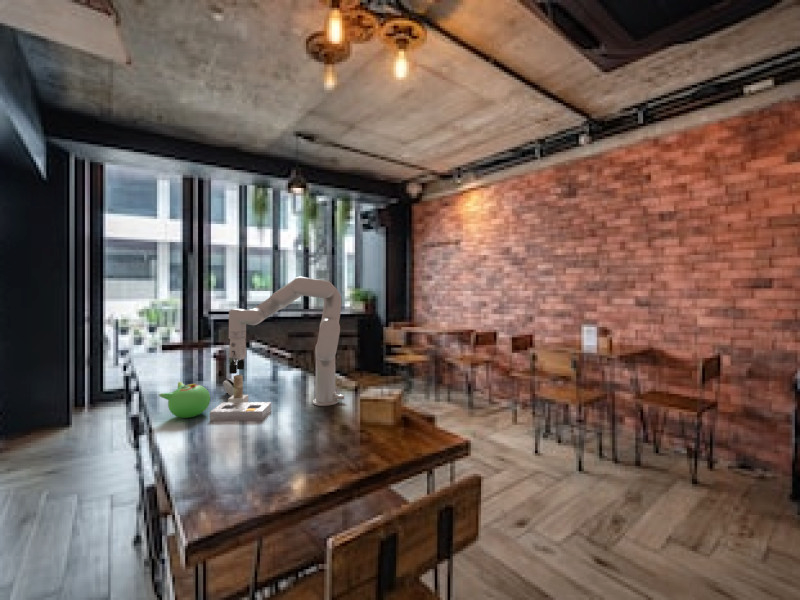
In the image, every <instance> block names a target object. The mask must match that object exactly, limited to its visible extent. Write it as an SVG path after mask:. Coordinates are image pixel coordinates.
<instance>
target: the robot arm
mask: <svg viewBox="0 0 800 600" xmlns="http://www.w3.org/2000/svg"><path fill="white" fill-rule="evenodd" d="M304 296H305V297H312V298H317V299H322V300H323V309H322V316H321V321H320V323H319V331H318V337H317V343H316V344H315V347H314V348H315V349H314V350H315V354H314V355H315V398H314V399H313V400H312V404H313V405H314V406H319V407H330V406H333V405H337V404H338V403H339V400H345V395H343V394H337V391H336V354H337V350H338V345H339V339H340V333H341V326H340V318H341V311H342V297H341V294H340V292H339V290H338V289H337V288H336V286H334V285H333V284H332V282H331V281H329V280H324V279H317V278H316V279H315V278H309V277H305V276H297V277H295V278H293V280H292V281H290V282H289V283H287V284H285V285H284V286H283V287H281V288H280V289H278V290H276V291H275V292H273V293H272V294H271V295H270V296H269V297H268V298H267V299H266V300H264V301H262V302H261V303H260V304H258V305H256V306H255V307H254V308H251V309H244V308H231V309H230V310H229V311H228V339H229V347H228V348H229V349H228V350H229V351H228V359H229V360H228V362H229V365H228V366H229V368H228V371H229V374H234V375H237V374H238V373H237V372H238V370H244V369H245V358H246V357H247V345H246V344H247V343H246V339H247V325H249V326H256V325H258V324H259V325H260V323H262V322H263V321H265V320H266V319H267V318H269V317H271V316H272V315H273V314H275V313H277V312H279V311H280V310H283V309H284V308H286V307H287V306H290V305H291V304H292V303H293V302H294V301H297V300H298V299H299V298H301V297H304Z"/></svg>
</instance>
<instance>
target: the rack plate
mask: <svg viewBox="0 0 800 600" xmlns="http://www.w3.org/2000/svg"><path fill="white" fill-rule="evenodd" d="M271 412H272V402H271V401H268V402H267V401H266V402H265V401H263V402H262V401H259V402H257V401H255V402H249V401H248V402H237V403H228V402H221V403H220V404H218V405H217V406H216V407H214V408H213V409H212V410H210V411H209V422H259V421H260V422H262V421H263V420H265V418H266V417H267V416H268V415H269V414H270V413H271Z"/></svg>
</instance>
